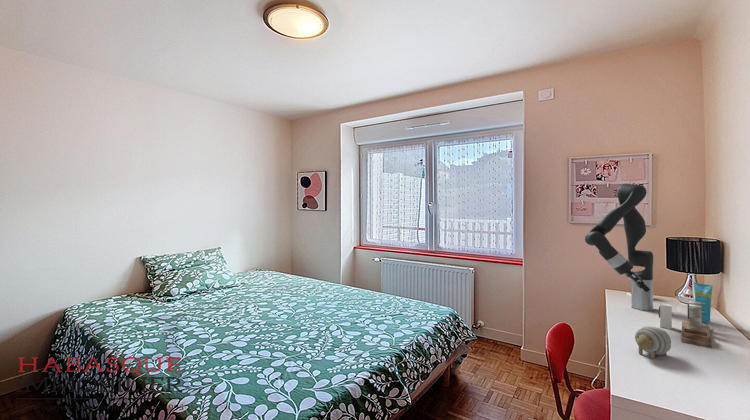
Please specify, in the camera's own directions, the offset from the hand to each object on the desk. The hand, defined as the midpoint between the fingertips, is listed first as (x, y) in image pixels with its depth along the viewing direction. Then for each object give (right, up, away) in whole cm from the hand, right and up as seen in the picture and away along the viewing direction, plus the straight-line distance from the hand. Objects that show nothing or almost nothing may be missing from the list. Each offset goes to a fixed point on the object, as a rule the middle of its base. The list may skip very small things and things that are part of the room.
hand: (645, 289), depth 158 cm
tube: (+30, -17, +1) cm, 34 cm away
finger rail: (+10, -17, -15) cm, 25 cm away
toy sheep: (-24, -18, -33) cm, 45 cm away
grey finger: (+5, -17, -6) cm, 19 cm away
